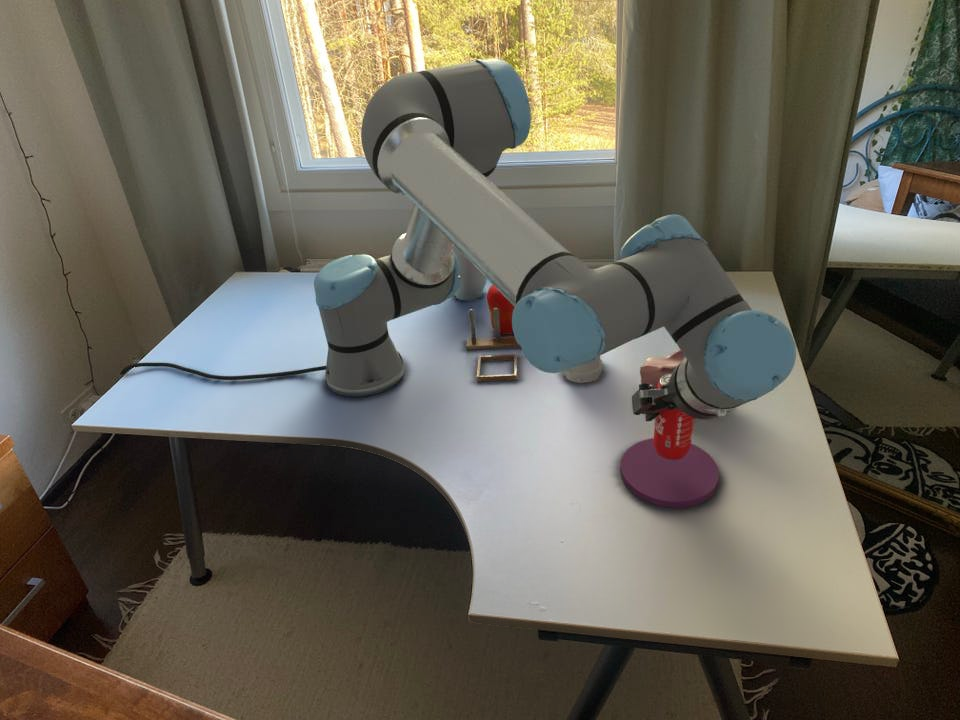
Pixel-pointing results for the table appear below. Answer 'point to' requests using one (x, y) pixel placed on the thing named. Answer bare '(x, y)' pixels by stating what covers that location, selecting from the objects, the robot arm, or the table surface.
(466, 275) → the vase
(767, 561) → the table surface
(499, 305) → the apple
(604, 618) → the table surface
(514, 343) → the rack
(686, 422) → the beverage can
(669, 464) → the lid
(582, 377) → the mug
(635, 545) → the table surface
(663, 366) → the figurine
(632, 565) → the table surface
